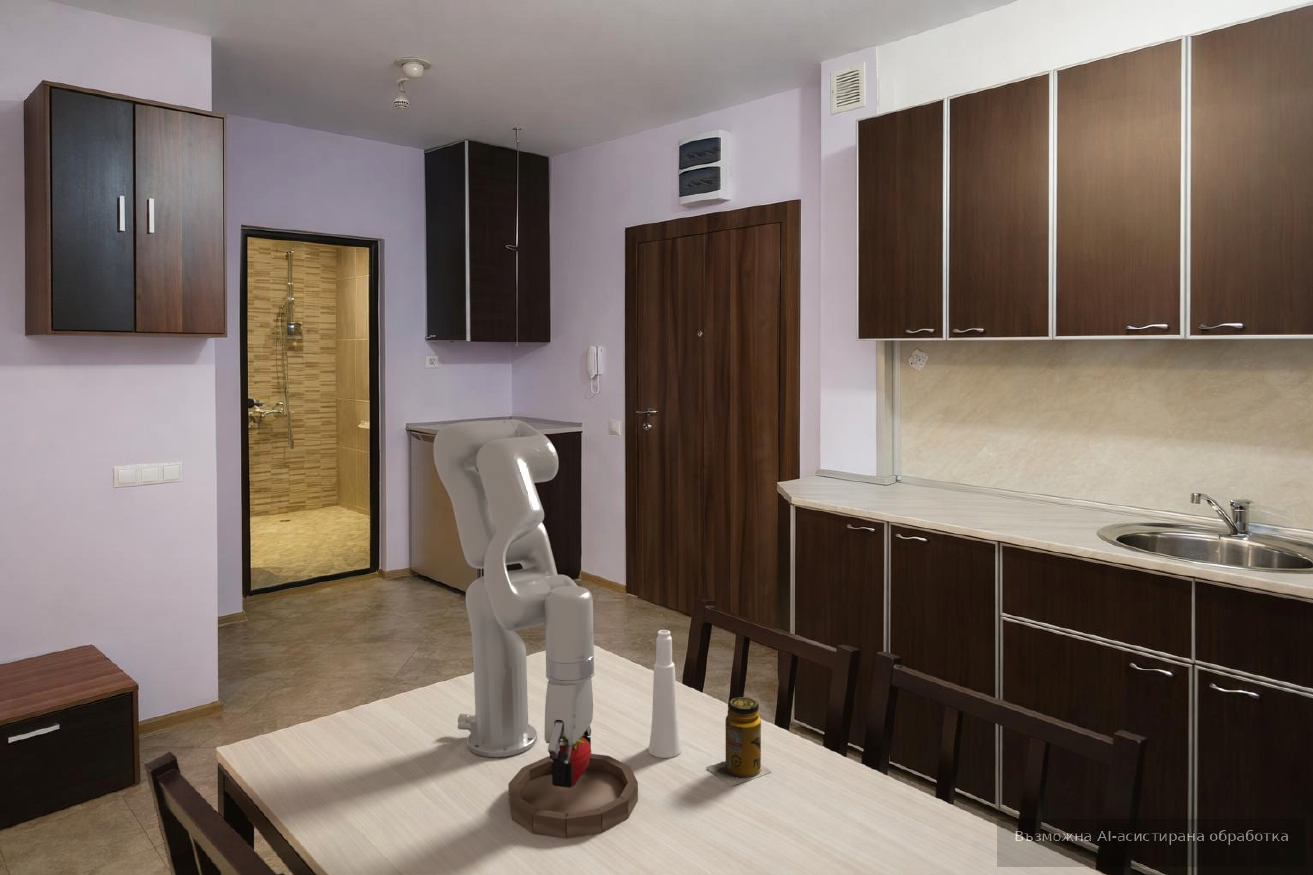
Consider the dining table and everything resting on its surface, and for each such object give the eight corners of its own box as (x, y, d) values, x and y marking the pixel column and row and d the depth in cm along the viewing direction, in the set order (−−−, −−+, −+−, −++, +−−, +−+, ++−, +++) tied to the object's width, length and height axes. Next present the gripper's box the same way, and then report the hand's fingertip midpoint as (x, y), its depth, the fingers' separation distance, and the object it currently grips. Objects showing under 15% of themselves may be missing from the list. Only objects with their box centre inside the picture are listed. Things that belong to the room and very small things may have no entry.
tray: (488, 826, 126) (487, 807, 126) (540, 763, 145) (539, 747, 145) (613, 845, 121) (613, 825, 121) (650, 777, 140) (650, 760, 140)
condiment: (771, 772, 142) (771, 704, 140) (732, 787, 137) (732, 717, 136) (744, 755, 148) (744, 690, 146) (705, 768, 143) (705, 701, 142)
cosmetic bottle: (655, 740, 154) (653, 624, 151) (686, 745, 152) (685, 627, 149) (643, 755, 148) (642, 635, 146) (675, 760, 146) (674, 638, 144)
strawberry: (599, 777, 136) (598, 719, 135) (579, 801, 129) (578, 739, 128) (566, 771, 138) (565, 713, 137) (545, 794, 131) (543, 733, 130)
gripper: (567, 645, 140) (569, 744, 142) (525, 685, 124) (528, 797, 125) (610, 648, 138) (611, 750, 140) (572, 690, 122) (575, 804, 124)
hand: (572, 771), depth 133 cm, fingers closed on strawberry, 7 cm apart
